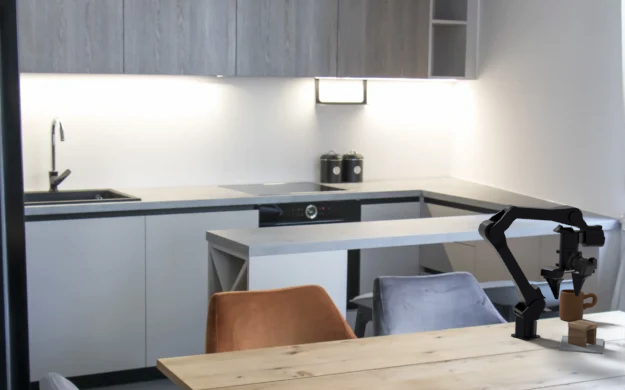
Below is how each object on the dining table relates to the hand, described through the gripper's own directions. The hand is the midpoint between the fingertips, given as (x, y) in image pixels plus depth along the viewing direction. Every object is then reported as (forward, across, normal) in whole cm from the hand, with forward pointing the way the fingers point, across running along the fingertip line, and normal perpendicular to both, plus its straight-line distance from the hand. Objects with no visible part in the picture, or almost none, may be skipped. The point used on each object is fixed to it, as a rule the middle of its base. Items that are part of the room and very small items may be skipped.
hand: (566, 297), depth 283 cm
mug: (+12, +20, +12) cm, 27 cm away
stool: (+12, -4, -10) cm, 16 cm away
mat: (+12, -4, -10) cm, 16 cm away
